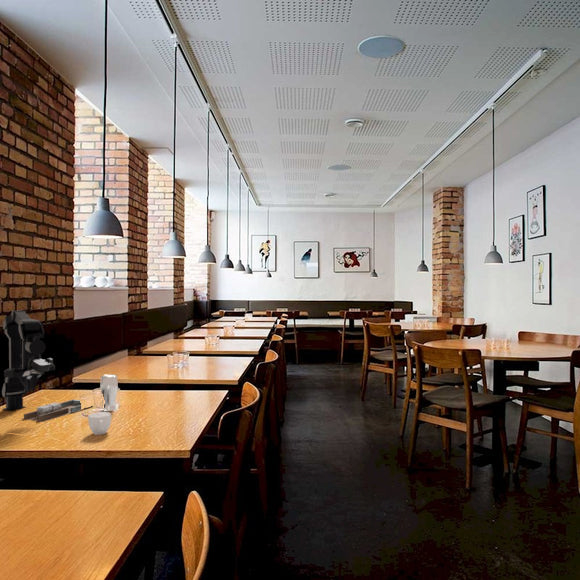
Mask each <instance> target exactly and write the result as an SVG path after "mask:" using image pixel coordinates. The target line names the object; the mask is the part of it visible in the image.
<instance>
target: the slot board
mask: <svg viewBox="0 0 580 580" xmlns="http://www.w3.org/2000/svg"><path fill="white" fill-rule="evenodd" d="M60 403H61V409H60V410H57V411H53V412H50V413H47V414H43V415H40V416H38V417H37V410H35V411H31V412H26V413H23V417H22V418H21V419H22V420H27V421H33V422H41V423H45V422H47V421H51V420H54V419H57V418H60V417H64V416H68V415H71V414H74V413H76V412H80V411H82V410H81V403H80V399H79V400H78V399H70V400H67V401H63V402H60Z"/></svg>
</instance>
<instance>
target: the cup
mask: <svg viewBox="0 0 580 580" xmlns="http://www.w3.org/2000/svg"><path fill="white" fill-rule="evenodd" d="M87 416H88V417H87V418H88V426H89V429H90V431H91V432H92V434H93V435H96V436H100V435H105V434H106V433H107V432H108V430H109V428H110V426H111V423H112V412H110V411H101V412H100V411H99V412H98V411H97V412H93V413H90V414H89V415H87Z"/></svg>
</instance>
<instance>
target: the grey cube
mask: <svg viewBox="0 0 580 580" xmlns="http://www.w3.org/2000/svg"><path fill="white" fill-rule="evenodd" d="M36 411H37V417H38V416H40V415H43V414H47V413H50V412H52V406H48V404H45V405H41V406H37V407H36Z"/></svg>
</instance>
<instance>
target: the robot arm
mask: <svg viewBox="0 0 580 580" xmlns="http://www.w3.org/2000/svg"><path fill="white" fill-rule="evenodd" d="M43 326H44V325H42V323H41V321H40V320H39V319H38V320H37V319H36V318H35V319H33V318H31V317H30V316H29V315H28V314H27V311H26V310H13V311H11V313H10V314H9V315H7V316H6V317H4V319H3V322H2V329H3V330H4V335H6V337H7V338H8V360H9V361H8V363H9V364H8V365H9V367H8V368H6V369H4V372H3V378H4V383H3V386H2V390H1V395H2V397H3V398H5V407H4V408H2V410H3V411H8V412H15V411H18V410H22V409H25V408H27V407H26V406H24V397H23V396H24V395H27V393H30V391H31V392H34V391H35V389H36V387H37V384H38V381H39V379H40V377H42V375H44V374H45V372H52V371H55V369H56V365H55V364H54V360H53V358H51V357H49V358H46V359H43V358H42V354H43V353H44V352H45V351H46V344H45V342H44V341H43V340H41V339H44V338H45V334H46V333H45V330H44V327H43Z"/></svg>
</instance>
